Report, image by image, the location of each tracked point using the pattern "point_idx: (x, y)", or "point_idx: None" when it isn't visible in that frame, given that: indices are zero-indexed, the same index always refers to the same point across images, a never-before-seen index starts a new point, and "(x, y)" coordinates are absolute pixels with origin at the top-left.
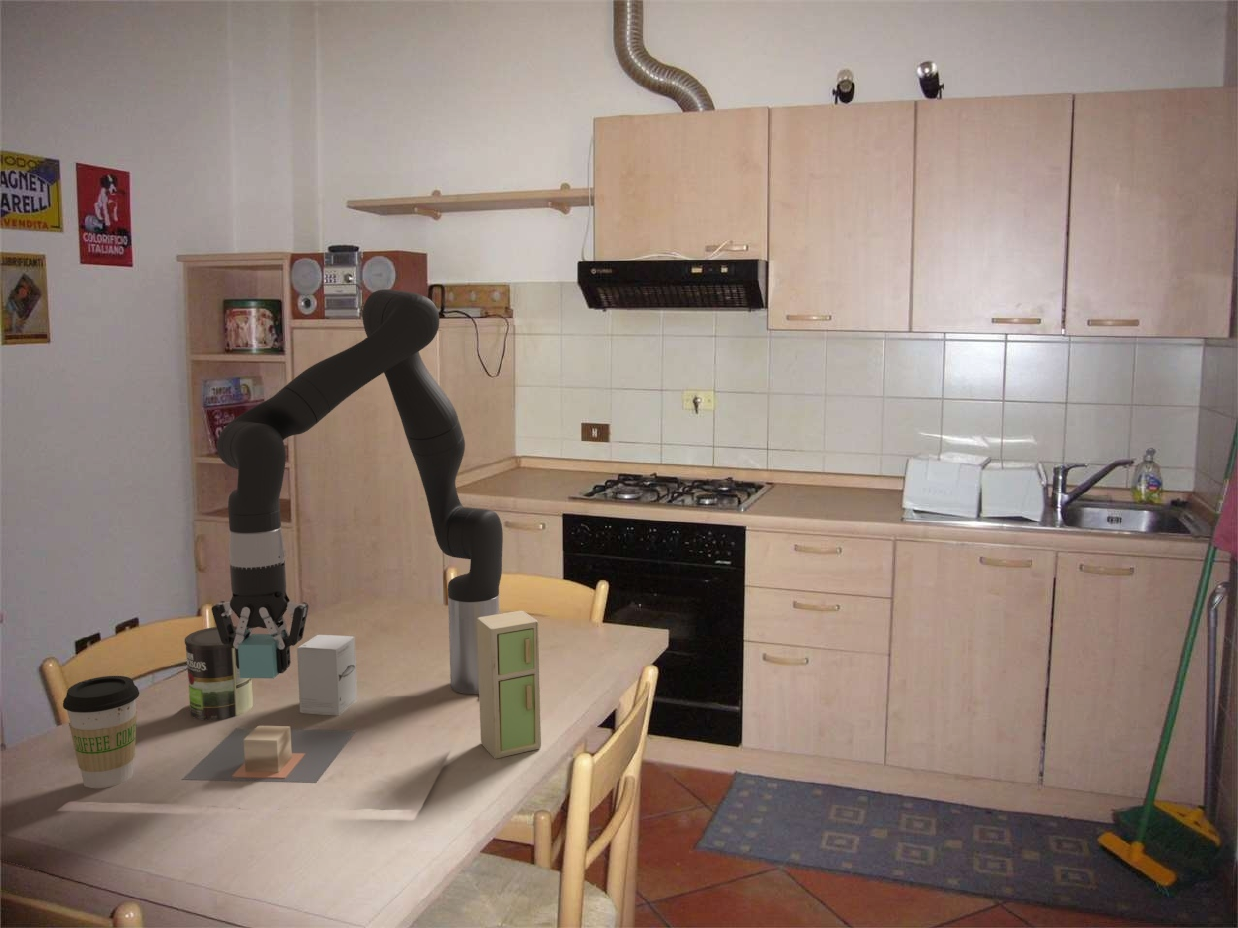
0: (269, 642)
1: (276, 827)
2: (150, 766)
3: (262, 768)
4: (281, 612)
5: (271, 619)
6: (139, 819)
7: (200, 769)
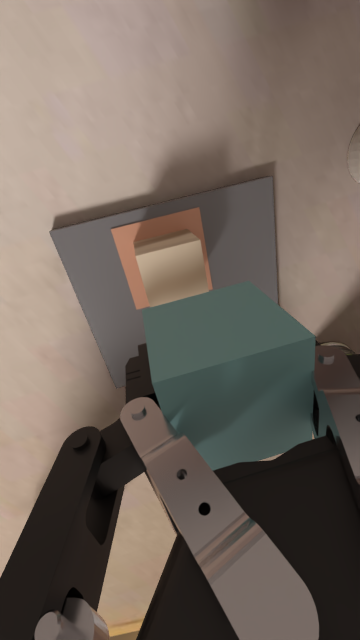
0: (188, 405)
1: (6, 66)
2: (342, 220)
3: (160, 236)
4: (141, 634)
5: (189, 538)
6: (272, 31)
7: (261, 217)
